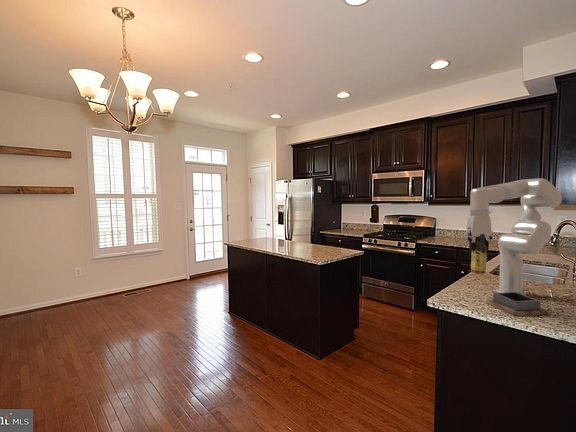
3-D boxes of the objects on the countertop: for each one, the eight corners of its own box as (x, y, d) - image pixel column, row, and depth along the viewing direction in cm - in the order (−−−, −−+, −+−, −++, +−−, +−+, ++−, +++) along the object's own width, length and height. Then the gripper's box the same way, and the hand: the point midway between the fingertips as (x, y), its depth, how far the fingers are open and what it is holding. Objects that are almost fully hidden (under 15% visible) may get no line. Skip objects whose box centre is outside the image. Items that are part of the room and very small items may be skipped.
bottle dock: (517, 301, 138) (517, 290, 138) (547, 314, 123) (548, 301, 123) (486, 303, 137) (486, 292, 137) (513, 316, 122) (513, 303, 122)
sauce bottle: (468, 271, 144) (468, 232, 143) (479, 270, 145) (480, 232, 144) (477, 274, 138) (478, 234, 137) (489, 274, 138) (490, 233, 137)
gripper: (490, 212, 144) (489, 248, 145) (457, 213, 143) (457, 249, 144) (502, 213, 136) (501, 250, 137) (467, 214, 135) (467, 252, 136)
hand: (478, 249), depth 141 cm, fingers closed on sauce bottle, 6 cm apart
